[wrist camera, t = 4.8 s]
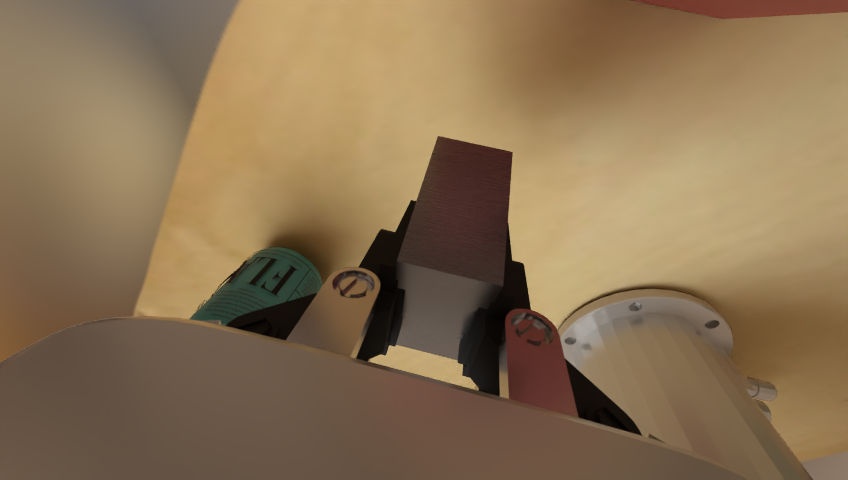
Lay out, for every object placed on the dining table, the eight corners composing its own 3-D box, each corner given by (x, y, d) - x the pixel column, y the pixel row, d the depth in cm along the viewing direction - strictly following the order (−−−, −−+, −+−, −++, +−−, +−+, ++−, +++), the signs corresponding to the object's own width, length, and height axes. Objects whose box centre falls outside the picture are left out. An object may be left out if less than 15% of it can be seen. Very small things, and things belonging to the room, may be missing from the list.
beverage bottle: (327, 237, 26) (43, 618, 9) (337, 300, 29) (147, 654, 13) (250, 229, 26) (-145, 569, 10) (269, 291, 30) (5, 615, 13)
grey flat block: (512, 152, 10) (503, 286, 7) (476, 247, 14) (460, 361, 11) (438, 136, 10) (397, 261, 7) (422, 234, 14) (391, 343, 11)
